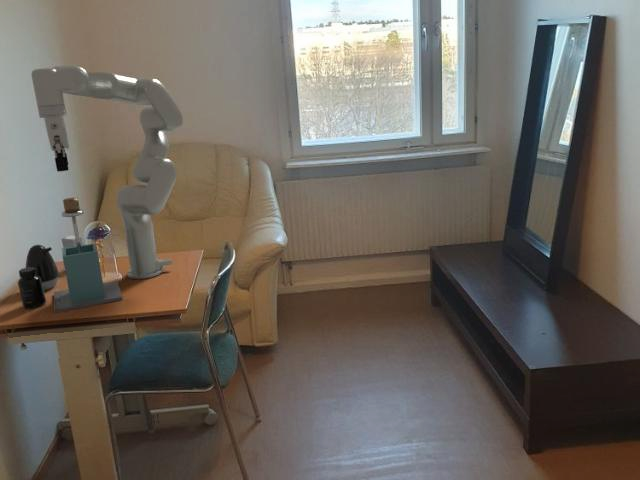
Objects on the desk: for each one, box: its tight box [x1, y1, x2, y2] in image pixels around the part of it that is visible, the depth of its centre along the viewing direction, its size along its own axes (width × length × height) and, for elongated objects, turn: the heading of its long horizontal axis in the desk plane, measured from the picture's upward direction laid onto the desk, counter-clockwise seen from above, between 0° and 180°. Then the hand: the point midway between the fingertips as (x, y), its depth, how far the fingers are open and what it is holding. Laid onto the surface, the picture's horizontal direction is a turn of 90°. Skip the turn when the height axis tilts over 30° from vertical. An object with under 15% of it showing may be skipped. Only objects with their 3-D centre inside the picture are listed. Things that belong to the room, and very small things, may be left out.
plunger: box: [61, 197, 85, 254], centre depth 202 cm, size 7×7×22 cm
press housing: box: [53, 242, 123, 314], centre depth 206 cm, size 20×17×16 cm
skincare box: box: [61, 235, 84, 248], centre depth 236 cm, size 6×4×12 cm
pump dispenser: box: [25, 244, 60, 291], centre depth 218 cm, size 10×10×15 cm
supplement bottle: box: [17, 267, 47, 310], centre depth 203 cm, size 7×7×12 cm
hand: (63, 168), depth 196 cm, fingers open, 9 cm apart
